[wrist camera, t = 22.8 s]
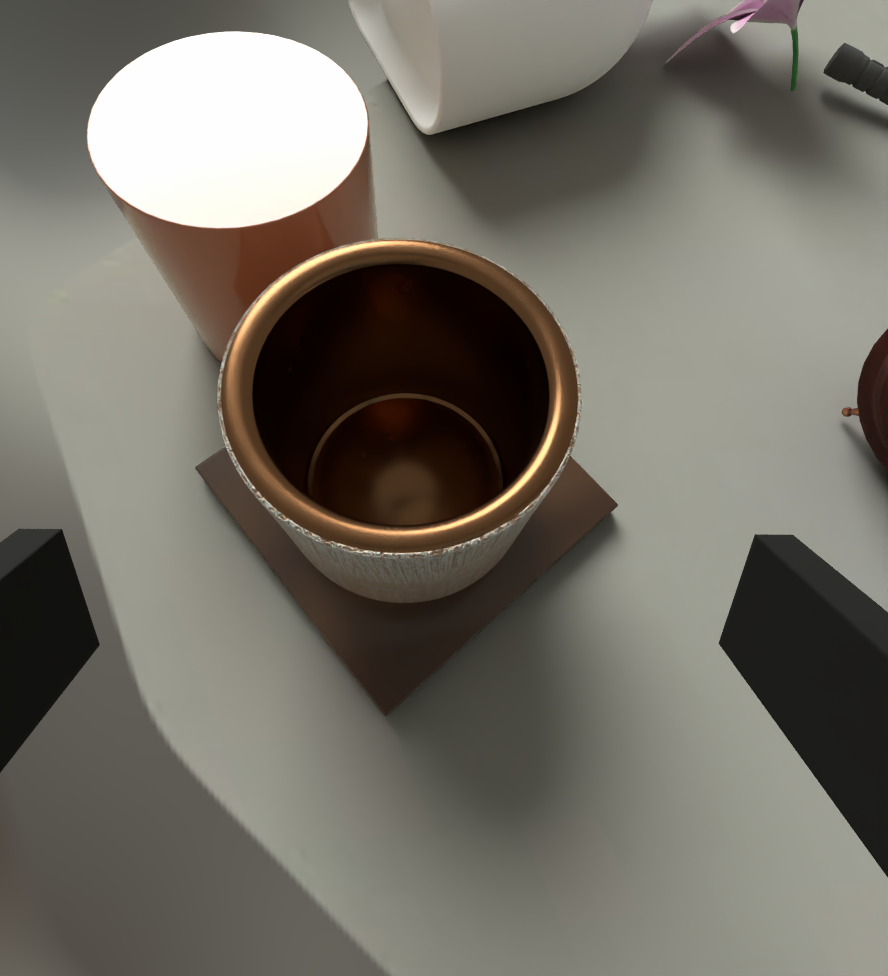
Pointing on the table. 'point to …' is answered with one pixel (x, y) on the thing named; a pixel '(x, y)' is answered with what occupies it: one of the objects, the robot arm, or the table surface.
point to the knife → (859, 72)
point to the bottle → (493, 52)
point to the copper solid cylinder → (234, 166)
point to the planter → (400, 412)
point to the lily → (761, 5)
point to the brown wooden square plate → (421, 625)
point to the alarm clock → (874, 399)
